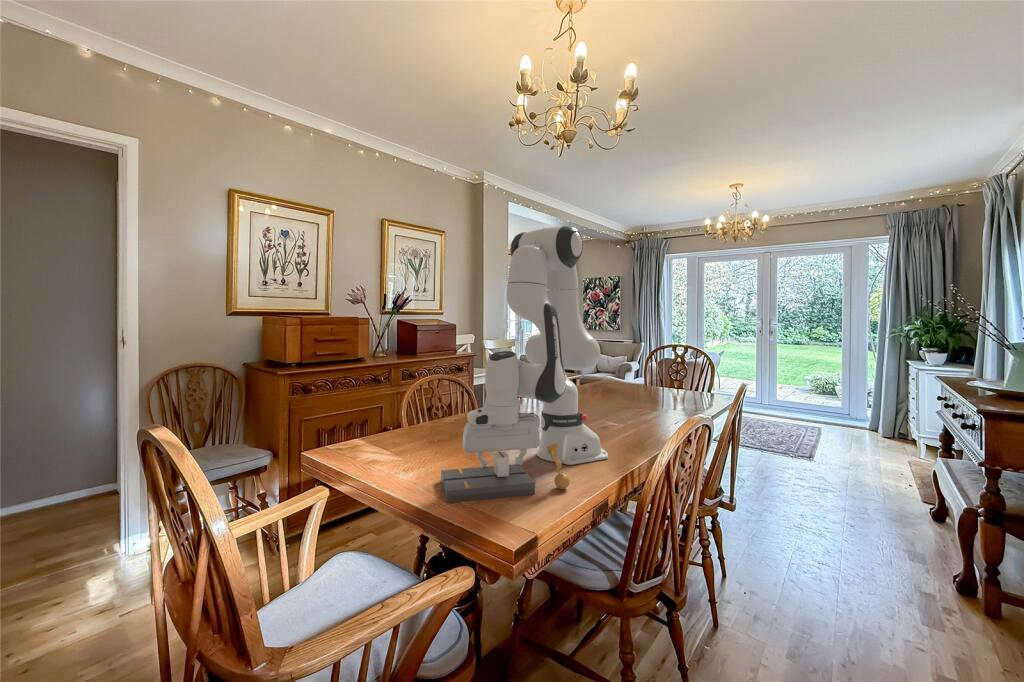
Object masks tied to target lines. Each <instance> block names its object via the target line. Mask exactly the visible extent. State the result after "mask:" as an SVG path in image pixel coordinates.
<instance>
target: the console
mask: <svg viewBox="0 0 1024 682" xmlns="http://www.w3.org/2000/svg"><path fill="white" fill-rule="evenodd" d="M522 466H523V465H519V466H516V464H509V476H504V477H497V475H496V474H495V472H494V465H490V466H489V465H487V468H483V469H481V467H480V466H478V467H477V466H476V467H464V468H454V469H441V470H440V483H441V487H442V489H443V493H444V496H445V497H446V498H445V500H446V503H447V504H449V503H448V502H452V503H460V502H461V503H462V502H469V501H470V502H471V501H472V502H473V501H481V500H488V499H489V500H490V499H491V500H492V499H498V498H499V499H500V498H510V497H520V495H522V496H530V495H529V494H532V495H535V493H536V491H535V490H536V489H535V488H536V482H535V481H534V480H533V479H532V477H531V476H530V475H529V473H527V471H526V470H525V469H524V468H523V467H522Z"/></svg>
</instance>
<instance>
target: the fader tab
mask: <svg viewBox="0 0 1024 682" xmlns="http://www.w3.org/2000/svg"><path fill="white" fill-rule="evenodd" d="M509 465H510V456H509V455H508V454H507V452H506V451H494V452H493V466H494V472H495V474H496V475H497V477H504V476H509Z"/></svg>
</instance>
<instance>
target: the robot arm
mask: <svg viewBox="0 0 1024 682" xmlns="http://www.w3.org/2000/svg"><path fill="white" fill-rule="evenodd" d="M583 248H584V243H583V237H582V235H581V232H579V230H578V229H577V228H575V227H572V226H561V227H560V226H559V227H558V226H553V227H552V226H551V227H542V228H538V229H534V230H529V231H523V232H520V233H518V234H516V235H515V236H514V237H513V238H512V241H511V243H510V255H511V259H510V264H509V269H508V276H507V283H506V284H507V285H506V302H507V305H508V306H509V308H510V310H511V311H512V312H513V313H515V315H517V316H518V317H520V318H522V319H524V320H526V321H528V322H529V323H531V324H533V325H535V326H536V328H537V329H538V331H539V334H538V333H537V334H533V335H531V336H530V337H529V338H528V339H527V340H526V343H525V345H524V346H525V347H524V353H525V357H526V360H527V361H528V362H527V361H523V360H520V359H519V358H518V354H517V353H516V352H515V351H514V352H513V351H510V350H509V351H508V350H506V351H505V350H504V351H496V352H493V353H492V354H490V355H489V356H488V358H487V362H486V365H485V376H484V382H485V383H484V387H485V388H484V389H485V392H486V396H485V400H484V406H482V407H479V408H476V409H474V410H471V411H469V412H467V415H466V416H467V421H468V422H466V424H465V425H464V427H463V432H462V433H463V434H462V449H463V450H464V451H465V452H466V453H467V454H471V453H472V454H474V453H475V454H476V456H477V459H478V460H479V461H480V463H479V464H480V466H479V467H481V469H483V468H487V467H488V461H487V459H483V456H484V453H489V452H504V451H513V450H519V455H518V456H517V457H515V458H514V460H515V464H516V466H519V465H521V466H523V459H524V457H525V456H526V455H527V450H528V449H529V450H530V449H537V448H538V450H537V452H536V455H537V456H538V457H539V459H542V460H544V461H547V462H548V461H549V462H554V460H553V459H552V458H551V456H550V454H549V453H548V451H547V447H548V446H549V445H553V444H555V443H557V444H558V445H557V446H558V447H557V448H556V449H557V458H558V459H559V460H560V461H561V464H564V465H569V466H571V465H578V464H583V463H585V464H586V463H589V462H596V461H601V460H607V459H608V458H609V453H608V452H607V451H606V450H605V449H604V448H602V447H601V440H600V437H599V436H598V435H597V434H596V433H595V432H594V431H593V430H592V429H590V428H589V427H588V426H587V425H585V424H584V423H583V421H584V422H588V420H589V419H590V418H589V415H587V414H585V413H581V412H580V411H578V410H579V407H578V406H579V405H578V403H579V389H578V387H577V386H576V383H574V382H573V381H572V380H570V379H569V377H568V376H567V374H566V371H565V370H571V371H585V370H591V369H594V367H596V366H597V364H598V363H599V361H600V358H601V347H600V344H599V343H598V341H597V339H595V338H594V337H593V336H592V335H591V334H590V333H589V331H588V330H587V329H586V327H585V325H584V323H583V321H582V317H581V314H580V304H579V303H580V302H579V277H578V271H577V265H576V264H577V262H578V261H579V260H580V258H581V256H582V254H583ZM519 397H520V398H524V399H530V400H537V401H539V402H542V411H541V415H540V417H539V415H538V414H537V413H535V412H529V413H528V412H527V413H526V412H522V413H521V412H520V408H519V407H520V401H519ZM540 426H541V427H540ZM539 427H540V428H541V434H540V432H539ZM554 463H555V462H554Z"/></svg>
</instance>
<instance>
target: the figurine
mask: <svg viewBox="0 0 1024 682" xmlns="http://www.w3.org/2000/svg"><path fill="white" fill-rule="evenodd" d="M557 445H558V444H557V443H555V444H553V445H549V446H548V447H547V451H548V453H549V454H550V456H551V458H552V459H553V460H554V464H555V465H556V468H555V469H556V472H557V475H555V477H554V480H553V481H554V486H555V487H556V488H557V489H559V490H566V489H567V488H569V486H570V482H571V481H570V478H569V476H568V475H567V474H566V473H564V472H562V471H561V470H560V469H561V468H562V466H563V465H562V464H563V463H561V461H560V460H559V459H558V458H557V449H556V448H557V447H558V446H557Z"/></svg>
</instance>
